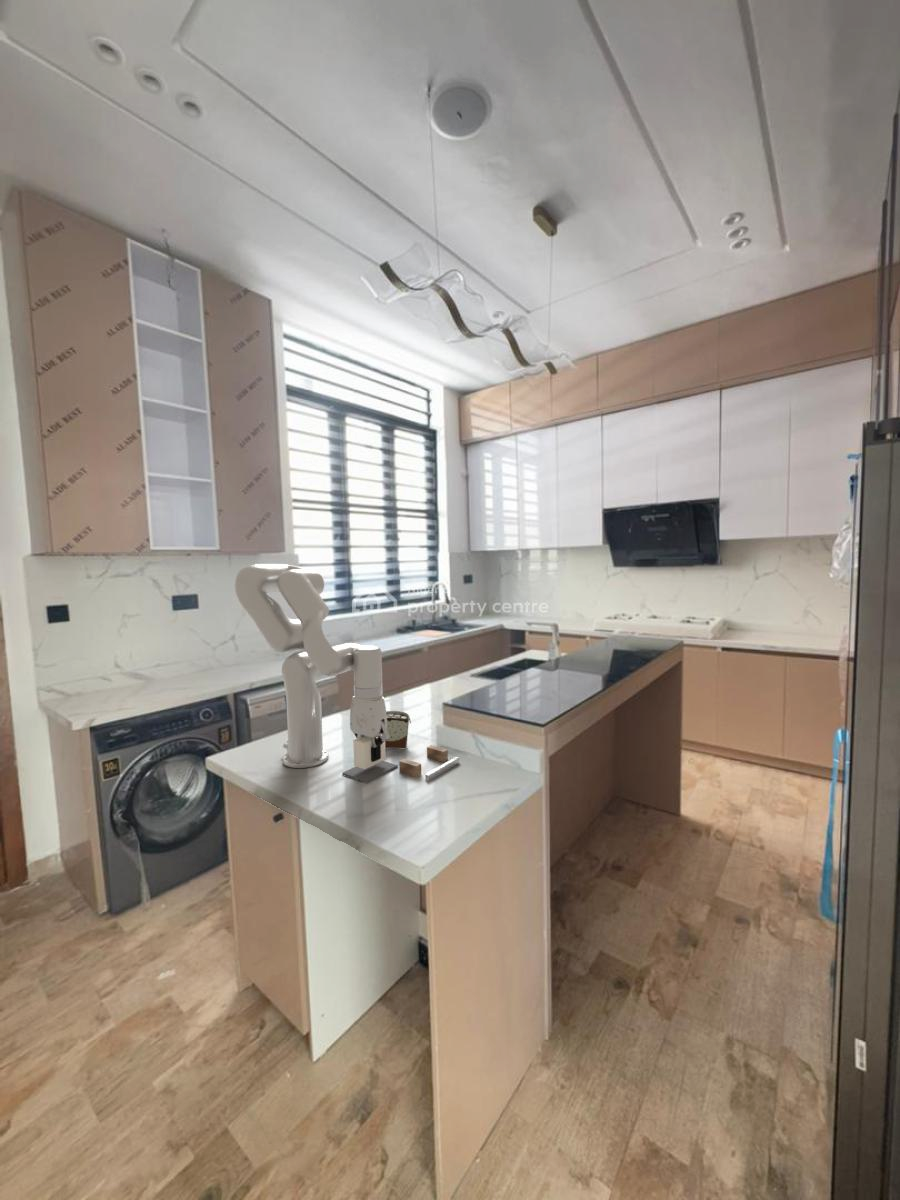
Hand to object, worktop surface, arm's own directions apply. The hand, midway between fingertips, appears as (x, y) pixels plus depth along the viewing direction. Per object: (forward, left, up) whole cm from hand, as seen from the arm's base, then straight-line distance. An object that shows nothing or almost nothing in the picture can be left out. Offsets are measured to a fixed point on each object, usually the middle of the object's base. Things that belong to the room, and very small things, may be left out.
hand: (370, 757), depth 133 cm
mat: (0, 0, -4) cm, 4 cm away
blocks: (+12, +11, -4) cm, 17 cm away
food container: (-8, +18, -4) cm, 20 cm away
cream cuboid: (0, 0, -1) cm, 1 cm away
